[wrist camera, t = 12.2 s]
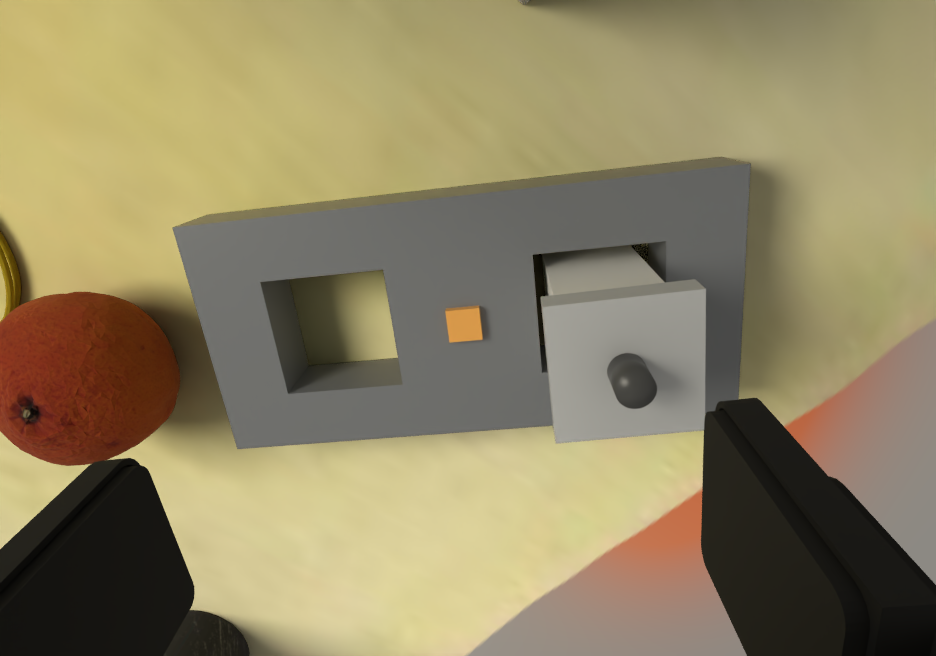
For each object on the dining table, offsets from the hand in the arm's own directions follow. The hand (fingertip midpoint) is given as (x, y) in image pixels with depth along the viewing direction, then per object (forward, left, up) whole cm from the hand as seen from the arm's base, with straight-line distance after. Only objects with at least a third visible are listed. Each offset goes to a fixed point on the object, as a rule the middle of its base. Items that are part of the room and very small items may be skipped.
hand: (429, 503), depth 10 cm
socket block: (+3, -1, -22) cm, 22 cm away
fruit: (+4, -21, -22) cm, 31 cm away
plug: (+3, +6, -22) cm, 23 cm away
